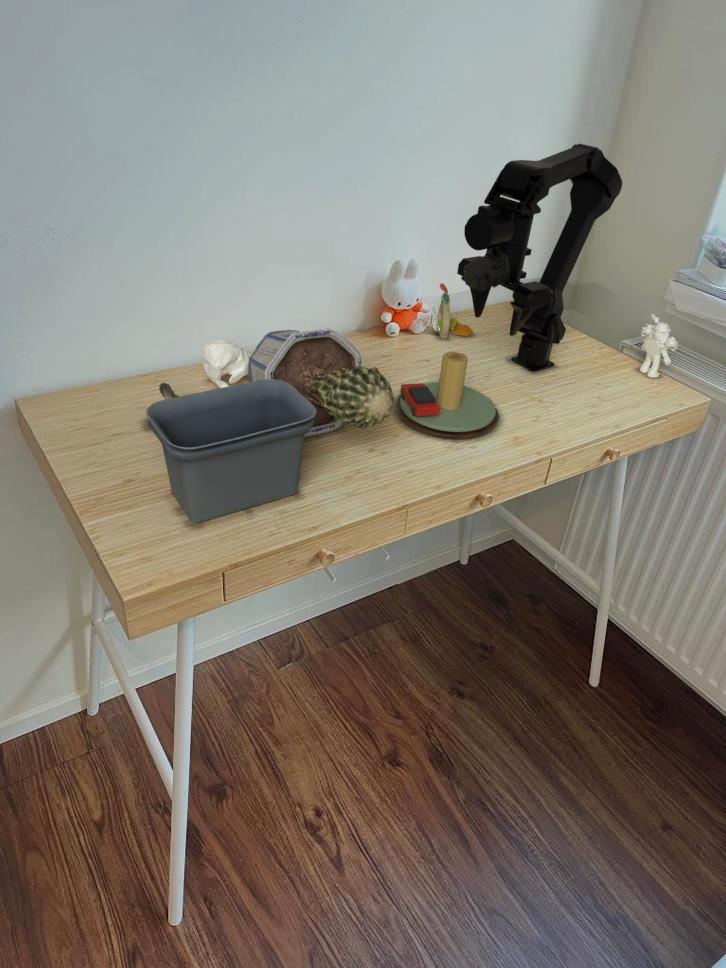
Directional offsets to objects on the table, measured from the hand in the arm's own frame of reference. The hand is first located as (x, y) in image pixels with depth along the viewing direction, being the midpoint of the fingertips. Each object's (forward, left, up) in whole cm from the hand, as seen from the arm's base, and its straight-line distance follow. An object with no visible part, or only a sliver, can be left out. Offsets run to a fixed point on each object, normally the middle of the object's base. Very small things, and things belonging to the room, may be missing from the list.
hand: (494, 326), depth 141 cm
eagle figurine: (+57, -14, -12) cm, 60 cm away
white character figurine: (-35, +13, -12) cm, 39 cm away
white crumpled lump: (+41, -23, -12) cm, 49 cm away
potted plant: (+38, 0, -12) cm, 40 cm away
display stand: (+14, +5, -12) cm, 19 cm away
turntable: (+14, +5, -11) cm, 18 cm away
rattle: (-10, -20, -12) cm, 26 cm away
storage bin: (+58, +7, -12) cm, 60 cm away
